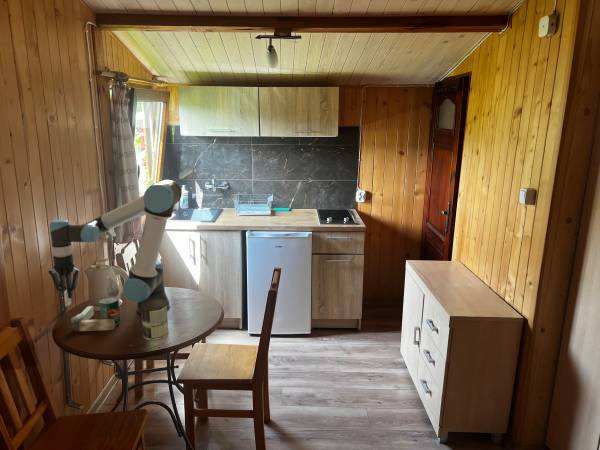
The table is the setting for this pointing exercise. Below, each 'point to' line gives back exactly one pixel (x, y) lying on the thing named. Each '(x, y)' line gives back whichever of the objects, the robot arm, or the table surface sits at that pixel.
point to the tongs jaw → (84, 315)
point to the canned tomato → (110, 309)
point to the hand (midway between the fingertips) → (68, 304)
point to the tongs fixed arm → (94, 325)
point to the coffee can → (154, 319)
